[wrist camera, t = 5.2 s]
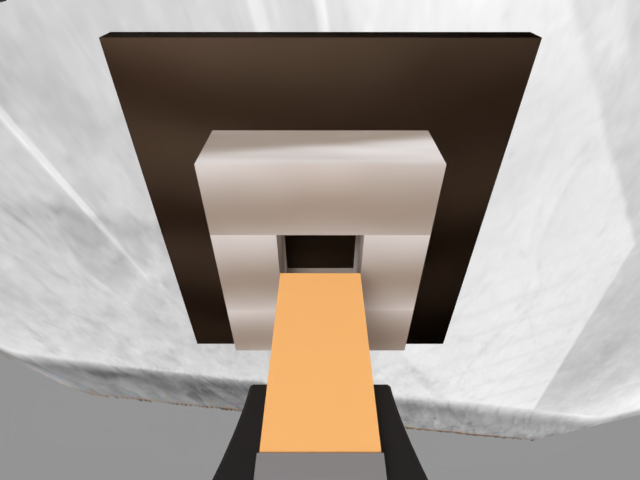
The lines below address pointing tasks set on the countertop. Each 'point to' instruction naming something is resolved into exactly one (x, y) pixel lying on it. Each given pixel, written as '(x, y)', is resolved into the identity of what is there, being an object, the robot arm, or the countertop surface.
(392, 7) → the countertop surface
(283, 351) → the plug
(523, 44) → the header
